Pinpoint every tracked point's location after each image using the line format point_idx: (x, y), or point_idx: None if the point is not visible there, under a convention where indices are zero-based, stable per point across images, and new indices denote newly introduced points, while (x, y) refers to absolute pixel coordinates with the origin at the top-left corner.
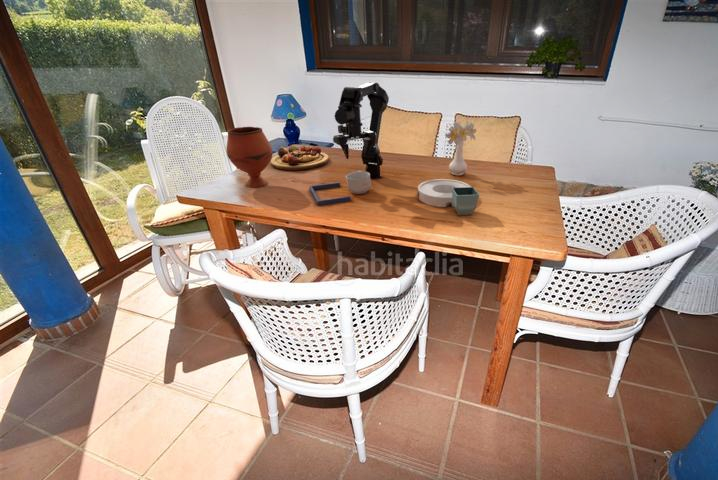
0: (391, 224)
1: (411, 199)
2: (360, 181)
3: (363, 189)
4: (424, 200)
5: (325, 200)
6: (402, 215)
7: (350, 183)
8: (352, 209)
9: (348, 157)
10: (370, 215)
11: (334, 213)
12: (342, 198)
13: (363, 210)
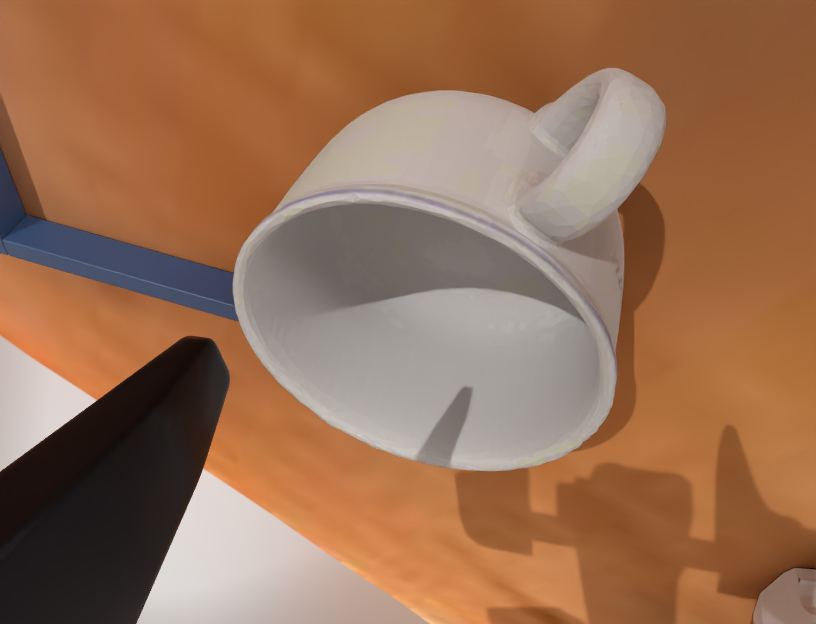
0: (397, 579)
1: (749, 540)
2: (389, 422)
3: (445, 346)
4: (759, 618)
5: (57, 267)
6: (503, 578)
7: (294, 323)
8: (267, 406)
9: (215, 426)
10: (344, 498)
11: None
12: (211, 309)
13: (331, 449)
